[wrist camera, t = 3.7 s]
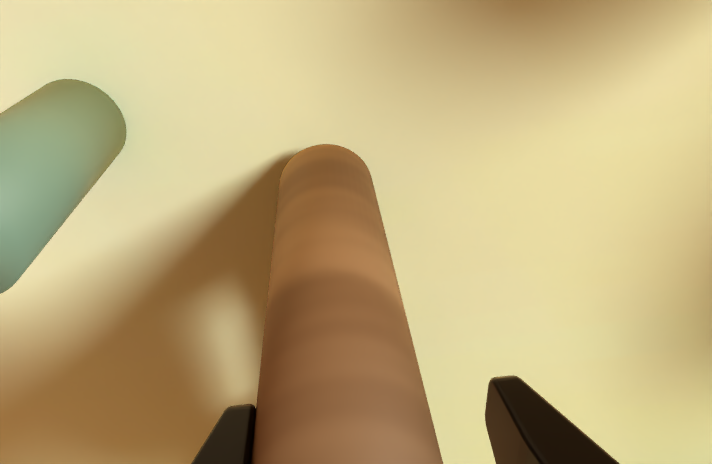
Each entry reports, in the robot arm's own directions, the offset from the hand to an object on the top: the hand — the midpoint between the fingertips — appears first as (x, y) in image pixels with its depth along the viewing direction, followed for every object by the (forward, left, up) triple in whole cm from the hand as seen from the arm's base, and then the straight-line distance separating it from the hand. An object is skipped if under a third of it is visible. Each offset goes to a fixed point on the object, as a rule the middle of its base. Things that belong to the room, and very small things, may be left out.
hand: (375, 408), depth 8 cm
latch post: (+5, +6, -9) cm, 11 cm away
